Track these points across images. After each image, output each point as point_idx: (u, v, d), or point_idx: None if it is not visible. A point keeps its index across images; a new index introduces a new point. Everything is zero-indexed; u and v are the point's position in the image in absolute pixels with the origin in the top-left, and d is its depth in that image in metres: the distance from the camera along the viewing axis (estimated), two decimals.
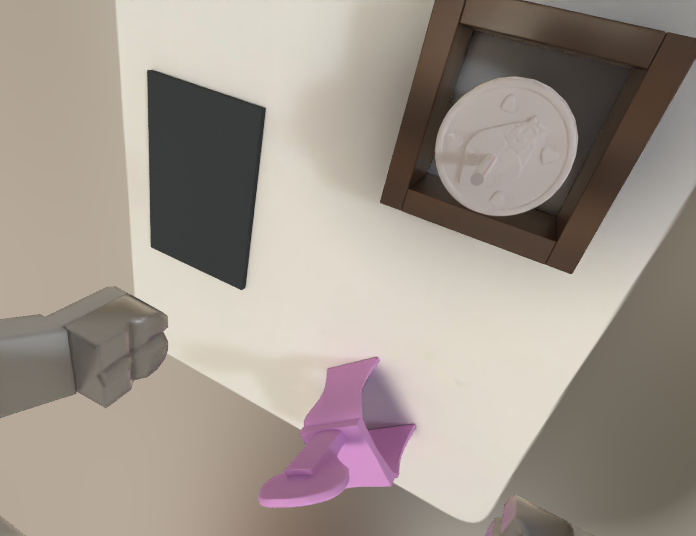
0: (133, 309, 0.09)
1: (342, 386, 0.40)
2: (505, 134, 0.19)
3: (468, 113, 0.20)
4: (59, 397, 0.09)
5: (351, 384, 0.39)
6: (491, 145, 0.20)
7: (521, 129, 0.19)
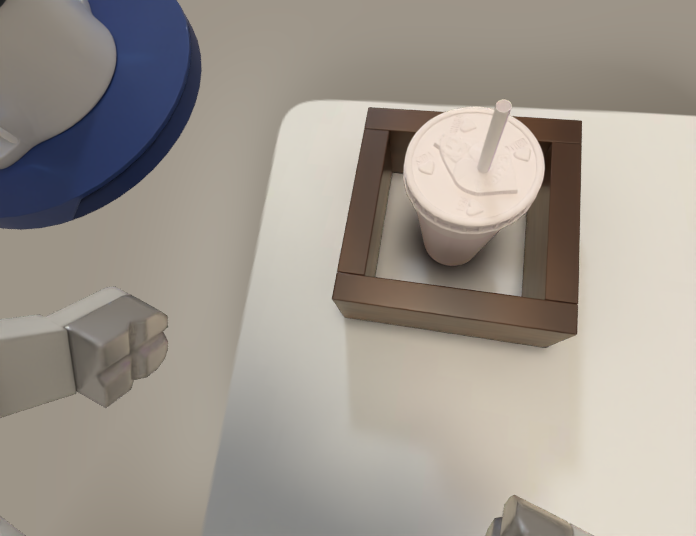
0: (133, 309, 0.09)
1: None
2: (455, 161, 0.20)
3: (441, 200, 0.19)
4: (59, 397, 0.09)
5: None
6: (468, 170, 0.19)
7: (447, 150, 0.20)
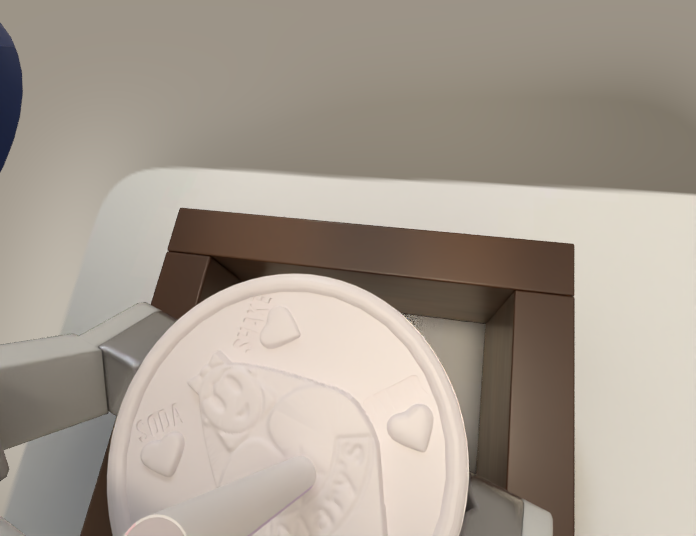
0: (166, 327, 0.09)
1: None
2: (229, 447, 0.07)
3: None
4: (91, 417, 0.09)
5: None
6: None
7: (216, 408, 0.07)
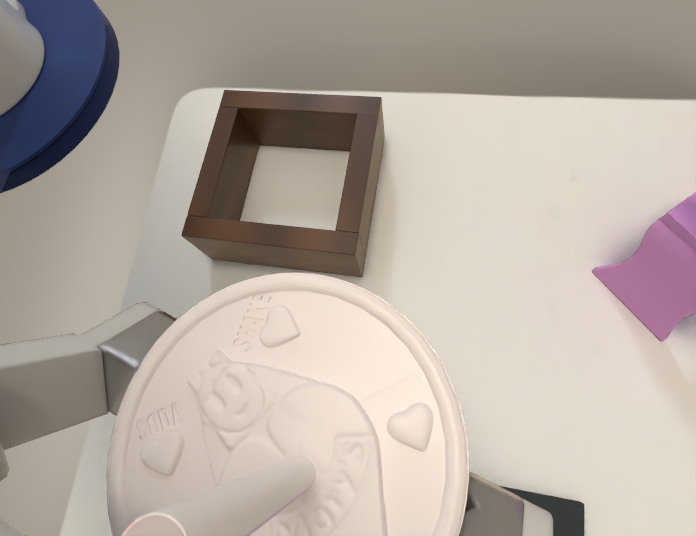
0: (166, 326, 0.09)
1: (654, 290, 0.27)
2: (229, 446, 0.07)
3: None
4: (91, 417, 0.09)
5: (641, 276, 0.27)
6: None
7: (216, 407, 0.07)
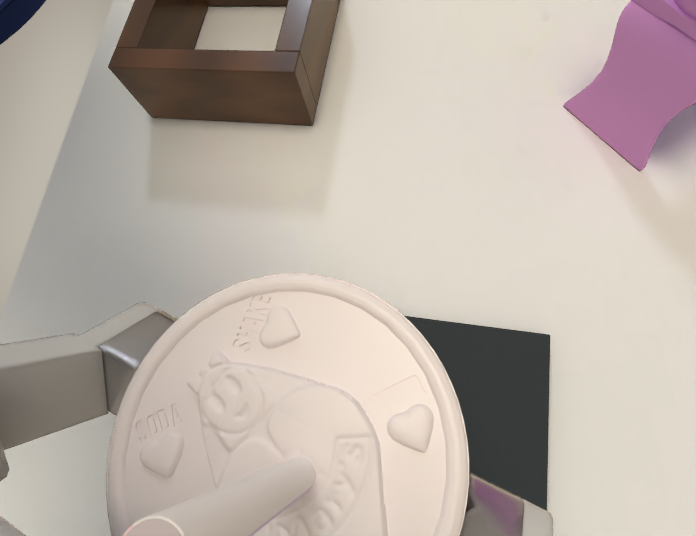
0: (166, 326, 0.09)
1: (630, 101, 0.24)
2: (228, 447, 0.07)
3: None
4: (91, 417, 0.09)
5: (615, 88, 0.24)
6: None
7: (215, 408, 0.07)
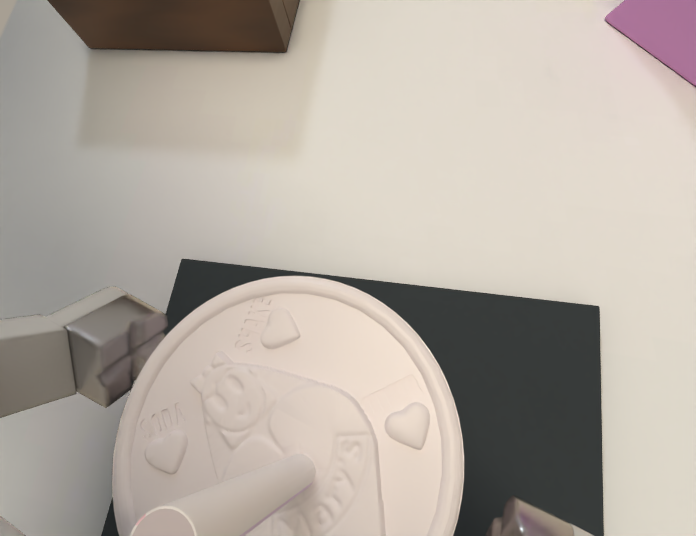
0: (133, 309, 0.09)
1: None
2: (231, 445, 0.07)
3: None
4: (59, 397, 0.09)
5: None
6: None
7: (218, 407, 0.08)
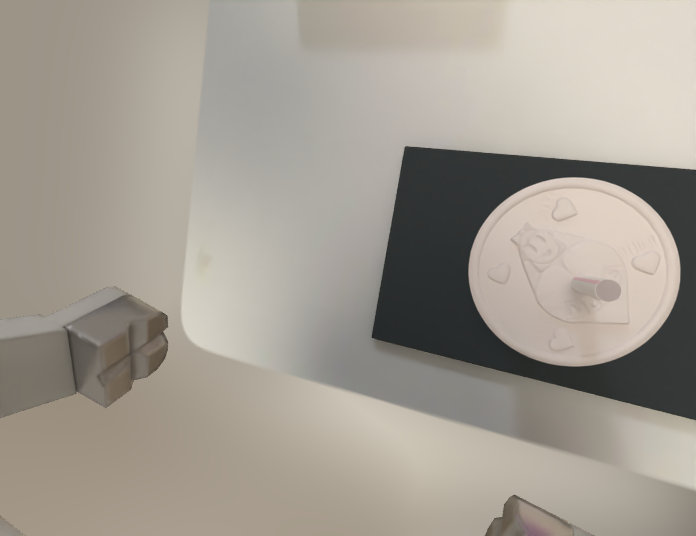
0: (133, 309, 0.09)
1: None
2: (539, 270, 0.14)
3: (516, 323, 0.15)
4: (59, 397, 0.09)
5: None
6: (558, 286, 0.14)
7: (530, 252, 0.14)
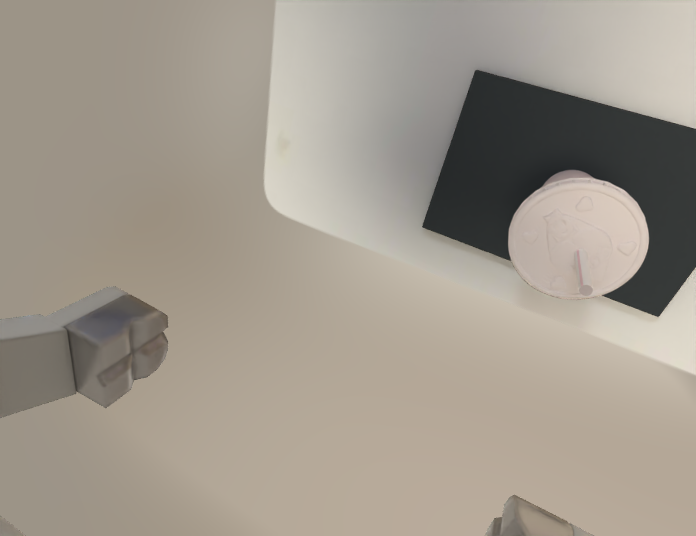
0: (133, 309, 0.09)
1: None
2: (557, 241, 0.22)
3: (533, 269, 0.23)
4: (59, 397, 0.09)
5: None
6: (565, 253, 0.22)
7: (554, 228, 0.21)
